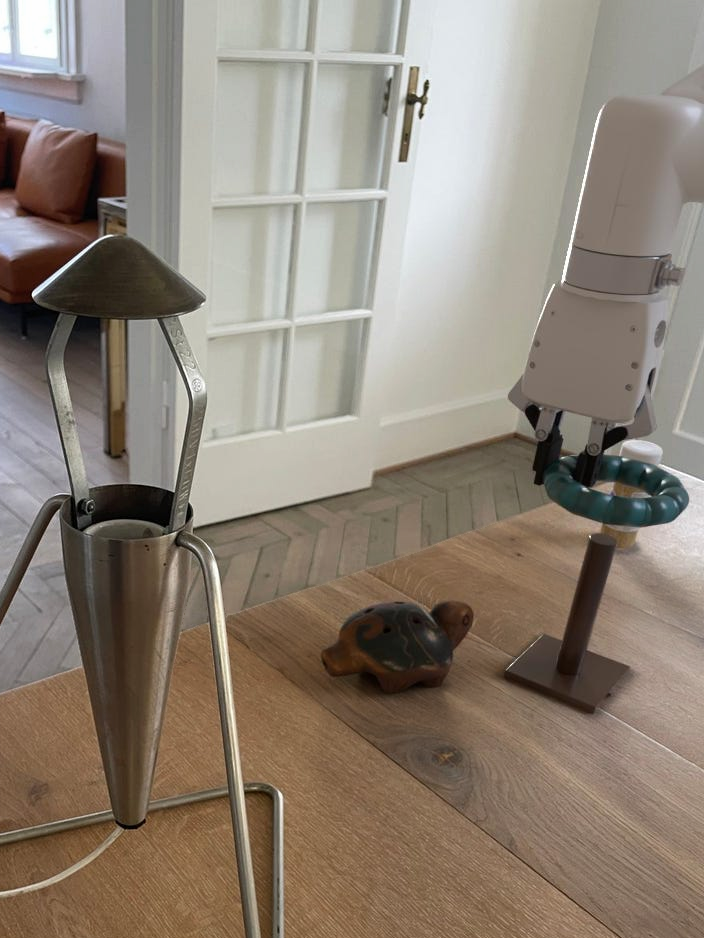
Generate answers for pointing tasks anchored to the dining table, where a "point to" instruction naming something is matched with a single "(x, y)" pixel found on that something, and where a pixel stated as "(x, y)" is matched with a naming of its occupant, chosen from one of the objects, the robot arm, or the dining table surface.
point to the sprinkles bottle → (641, 453)
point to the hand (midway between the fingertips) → (561, 484)
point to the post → (575, 642)
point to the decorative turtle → (400, 643)
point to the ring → (618, 509)
